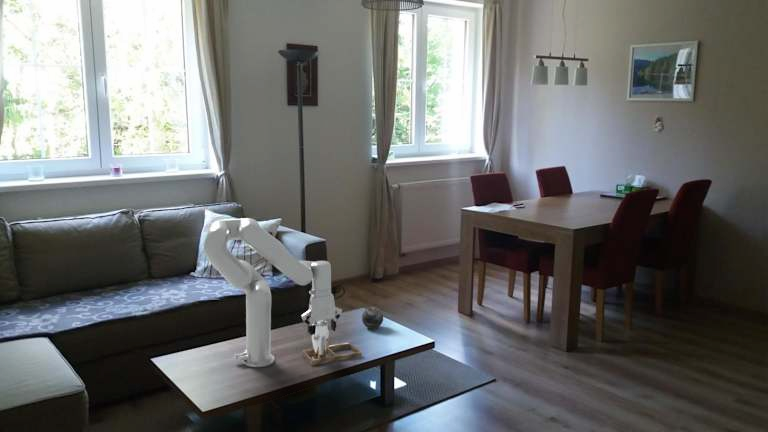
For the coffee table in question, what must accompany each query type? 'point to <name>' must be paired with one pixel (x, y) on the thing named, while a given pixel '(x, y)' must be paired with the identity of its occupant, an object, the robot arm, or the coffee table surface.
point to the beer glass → (320, 339)
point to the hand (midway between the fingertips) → (322, 332)
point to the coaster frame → (332, 354)
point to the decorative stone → (372, 317)
